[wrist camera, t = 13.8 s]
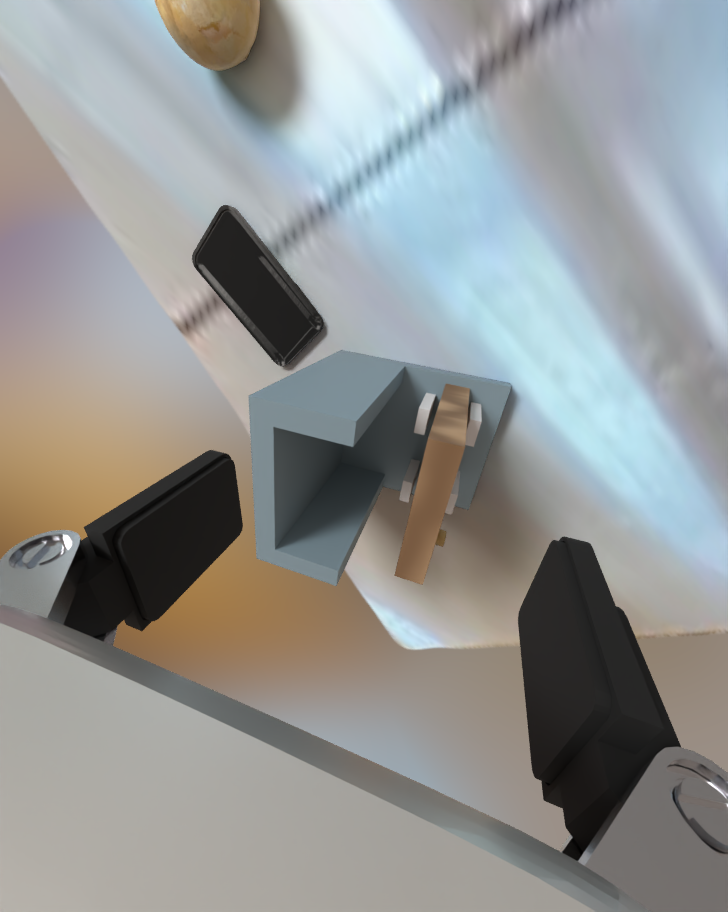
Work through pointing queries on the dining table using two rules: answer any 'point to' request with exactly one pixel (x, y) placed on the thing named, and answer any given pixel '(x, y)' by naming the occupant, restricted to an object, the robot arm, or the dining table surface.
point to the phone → (255, 286)
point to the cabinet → (351, 452)
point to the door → (434, 484)
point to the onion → (212, 29)
